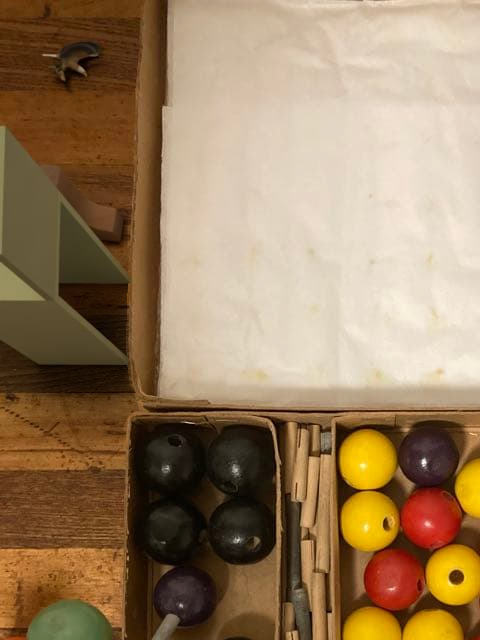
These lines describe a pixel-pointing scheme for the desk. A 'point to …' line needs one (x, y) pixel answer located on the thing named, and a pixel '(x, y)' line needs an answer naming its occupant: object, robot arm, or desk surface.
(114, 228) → the wooden block
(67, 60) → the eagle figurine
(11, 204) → the shelf
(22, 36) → the desk surface
